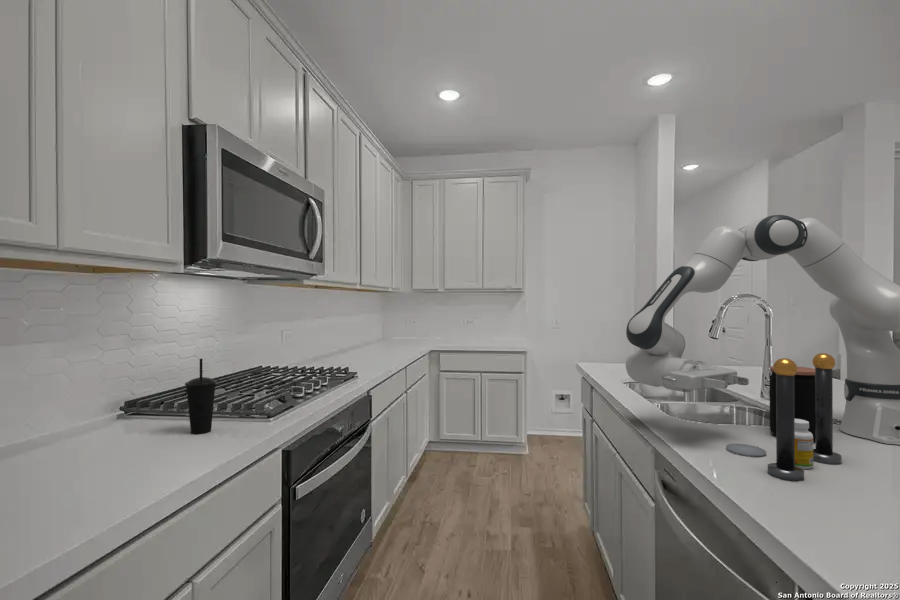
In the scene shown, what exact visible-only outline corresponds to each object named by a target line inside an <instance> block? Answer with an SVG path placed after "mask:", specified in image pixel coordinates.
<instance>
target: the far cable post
mask: <svg viewBox="0 0 900 600" xmlns="http://www.w3.org/2000/svg"><path fill="white" fill-rule="evenodd" d="M811 361H812V365H813V367H814V369H815V442H814V444H815V446H814V447H815V448H813V462H816V463H819V464H823V465H824V464H825V465H834V466H835V465H836V466H837V465H842V463H843V462H842V461H843V460H842V459H843V458H842V455H841V453H837V452H836V451H833V447H834V443H833V442H834V438H833V437H834V434H833V432H834V430H833V427H834V426H833V425H834V423H833V419H834V417H833V411H834V410H833V409H834V407H833V406H834V405H833V404H834V403H833V400H834V399H833V396H834V395H833V392H834V391H833V389H834V388H833V369H834V367H835V366H836V360H835V357H833V356H832V355H831V354H829V353H826V352H825V353H824V352H820V353H817V354H815V355H814V356H813V358H812V360H811Z"/></svg>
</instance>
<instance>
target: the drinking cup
mask: <svg viewBox="0 0 900 600" xmlns="http://www.w3.org/2000/svg"><path fill="white" fill-rule="evenodd" d="M216 384H217V380H216V379H213V378H211V377H206V376H205V377H204V376H203V358H199V377H196V378H192V379H190V380H188V381H186V382H184V386H186V387H185V388H186V398H187V406H188V417H189V418H188V419H189V427H190V434H192V435H203V434H208V433H210V432H211V431H212V423H213V415H214V402H215V394H216Z"/></svg>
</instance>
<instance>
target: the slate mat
mask: <svg viewBox="0 0 900 600" xmlns="http://www.w3.org/2000/svg"><path fill="white" fill-rule="evenodd" d="M725 449H726V451H727V452H729V453H731V454H735V455H737V454H738V455H737V456H743V457H748V456H749V457H750V458H763V456H764V457H767V451H766V450H765V449H764V448H762V447H759V446H757V445H756V446H755V445H751V444H746V443H727V445H725Z"/></svg>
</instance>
